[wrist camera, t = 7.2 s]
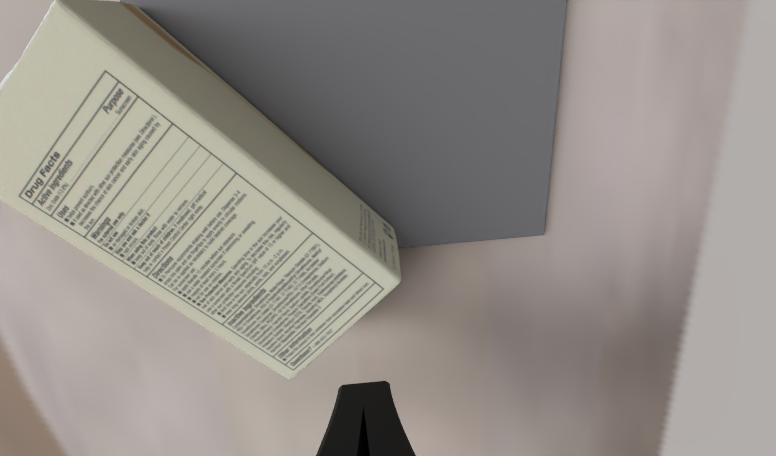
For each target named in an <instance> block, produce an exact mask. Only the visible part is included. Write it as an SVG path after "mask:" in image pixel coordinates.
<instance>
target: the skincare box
mask: <svg viewBox="0 0 776 456" xmlns="http://www.w3.org/2000/svg"><path fill="white" fill-rule="evenodd" d="M0 200H1V201H3V202H4V203H6V204H7V205H9V206H11V207H12V208H14V209H16V210H18V211H19V212H21V213H22V214H24V215H25V216H27V217H29V218H30V219H32V220H33V221H35V222H37V223H38V224H40V225H41V226H43V227H44V228H46V229H48V230H49V231H51V232H52V233H54V234H56V235H57V236H59V237H60V238H62V239H64V240H65V241H67V242H69V243H70V244H72V245H73V246H75V247H76V248H78V249H80V250H81V251H83V252H84V253H86V254H88V255H89V256H91V257H92V258H94V259H96V260H97V261H99V262H100V263H102V264H104V265H105V266H107V267H109V268H110V269H112V270H113V271H115V272H117V273H118V274H120V275H121V276H123V277H125V278H126V279H128V280H129V281H131V282H133V283H134V284H136V285H137V286H139V287H140V288H142V289H144V290H145V291H147V292H148V293H150V294H152V295H153V296H155V297H157V298H158V299H160V300H161V301H163V302H165V303H166V304H168V305H169V306H171V307H173V308H174V309H176V310H177V311H179V312H181V313H182V314H184V315H185V316H187V317H189V318H190V319H192V320H193V321H195V322H197V323H198V324H200V325H201V326H203V327H205V328H206V329H208V330H209V331H211V332H212V333H214V334H216V335H217V336H219V337H220V338H222V339H224V340H225V341H227V342H229V343H230V344H232V345H233V346H235V347H237V348H238V349H240V350H241V351H243V352H245V353H246V354H248V355H250V356H251V357H253V358H254V359H256V360H257V361H259V362H261V363H262V364H264V365H266V366H267V367H269V368H270V369H272V370H273V371H275V372H277V373H278V374H280V375H281V376H283V377H285V378H286V379H289V380H290V379H292V378H293V377H295V376H296V375H297V374H298V373H299V372H300V371H301V370H303V369H304V368H305V367H306V366H307V365H309V364H310V363H311V362H312V361H313V360H314V359H315V358H316V357H318V356H319V355H320V354H321V353H322V352H323V351H325V350H326V349H327V348H328V347H329V346H330V345H331V344H332V343H333V342H335V341H336V340H337V339H338V338H339V337H340V336H341V335H342V334H344V333H345V332H346V331H347V330H348V329H349V328H350V327H352V326H353V325H354V324H355V323H356V322H357V321H358V320H360V319H361V318H362V317H363V316H364V315H365V314H366V313H367V312H369V311H370V310H371V309H372V308H373V307H374V306H375V305H376V304H378V303H379V302H380V301H381V300H382V299H383V298H384V297H385V296H386V295H387V294H388V293H389V292H391V291H392V290H393V289H394V288H395V287H396V286H397V285H398V284H399V283H400V282H401V280H402V279H401V269H400V261H399V252H398V246H397V240H396V235H395V231H394V228H393V227H392V226H391V225H390V224H389V223H388V222H386V221H385V220H384V219H383V218H382V217H380V216H379V215H378V214H377V213H376V212H375V211H374V210H372V209H371V208H370V207H369V206H368V205H367V204H366V203H364V202H363V201H362V200H361V199H360V198H359V197H358V196H356V195H355V194H354V193H353V192H352V191H351V190H350V189H348V188H347V187H346V186H345V185H344V184H343V183H341V182H340V181H339V180H338V179H337V178H336V177H334V176H333V175H332V174H331V173H330V172H329V171H327V170H326V169H325V168H324V167H323V166H322V165H320V164H319V163H318V162H317V161H316V160H315V159H314V158H312V157H311V156H310V155H309V154H308V153H307V152H305V151H304V150H303V149H302V148H301V147H300V146H299V145H297V144H296V143H295V142H294V141H293V140H292V139H290V138H289V137H288V136H287V135H286V134H285V133H284V132H282V131H281V130H280V129H279V128H278V127H277V126H276V125H275V124H273V123H272V122H271V121H270V120H269V119H267V118H266V117H265V116H264V115H263V114H262V113H261V112H259V111H258V110H257V109H256V108H255V107H254V106H253V105H251V104H250V103H249V102H248V101H247V100H246V99H245V98H243V97H242V96H241V95H240V94H239V93H238V92H236V91H235V90H234V89H233V88H232V87H231V86H229V85H228V84H227V83H226V82H225V81H224V80H222V79H221V78H220V77H219V76H218V75H217V74H216V73H214V72H213V71H212V70H211V69H210V68H209V67H207V66H206V65H205V64H204V63H203V62H202V61H200V60H199V59H198V58H197V57H196V56H194V55H193V54H192V53H191V52H190V51H189V50H188V49H186V48H185V47H184V46H183V45H182V44H181V43H179V42H178V41H177V40H176V39H175V38H174V37H172V36H171V35H170V34H169V33H168V32H167V31H165V30H164V29H163V28H162V27H161V26H160V25H158V24H157V23H156V22H155V21H154V20H152V19H151V18H150V17H149V16H148V15H147V14H145V13H144V12H143V11H142V10H141V9H140V8H139V7H137V6H136V5H134V4H128V3H124V2H115V1H99V0H55V1H54V2H53V3H52V4H51V6H50V8H49V10H48V12H47V14H46V15H45V17H44V19H43V21H42V22H41V24H40V26H39V28H38V29H37V31H36V33H35V34H34V36H33V37H32V39H31V41H30V42H29V44H28V46H27V47H26V49H25V51H24V52H23V54H22V56H21V58H20V59H19V61H18V62H17V64H16V65H15V66H14V67H13V68H12V69H11V70H10V71H9V72H8V74H7V75H6V77H5V78H4V79H3V81H2V82H1V84H0Z"/></svg>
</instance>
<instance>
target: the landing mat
mask: <svg viewBox="0 0 776 456" xmlns="http://www.w3.org/2000/svg"><path fill="white" fill-rule="evenodd" d="M120 2H124V3H128V4H134V5H136V6H137V7H139V8H140V9H141V10H142V11H143V12H144V13H145V14H147V15H148V16H149V17H150V18H151V19H152V20H154V21H155V22H156V23H157V24H158V25H160V26H161V27H162V28H163V29H164V30H165V31H167V32H168V33H169V34H170V35H171V36H172V37H174V38H175V39H176V40H177V41H178V42H179V43H181V44H182V45H183V46H184V47H185V48H186V49H188V50H189V51H190V52H191V53H192V54H193V55H194V56H196V57H197V58H198V59H199V60H200V61H202V62H203V63H204V64H205V65H206V66H207V67H209V68H210V69H211V70H212V71H213V72H214V73H216V74H217V75H218V76H219V77H220V78H221V79H222V80H224V81H225V82H226V83H227V84H228V85H229V86H231V87H232V88H233V89H234V90H235V91H236V92H238V93H239V94H240V95H241V96H242V97H243V98H245V99H246V100H247V101H248V102H249V103H250V104H251V105H253V106H254V107H255V108H256V109H257V110H258V111H259V112H261V113H262V114H263V115H264V116H265V117H266V118H267V119H269V120H270V121H271V122H272V123H273V124H275V125H276V126H277V127H278V128H279V129H280V130H281V131H282V132H284V133H285V134H286V135H287V136H288V137H289V138H290V139H292V140H293V141H294V142H295V143H296V144H297V145H299V146H300V147H301V148H302V149H303V150H304V151H305V152H307V153H308V154H309V155H310V156H311V157H312V158H314V159H315V160H316V161H317V162H318V163H319V164H320V165H322V166H323V167H324V168H325V169H326V170H327V171H329V172H330V173H331V174H332V175H333V176H334V177H336V178H337V179H338V180H339V181H340V182H341V183H343V184H344V185H345V186H346V187H347V188H348V189H350V190H351V191H352V192H353V193H354V194H355V195H356V196H358V197H359V198H360V199H361V200H362V201H363V202H364V203H366V204H367V205H368V206H369V207H370V208H371V209H372V210H374V211H375V212H376V213H377V214H378V215H379V216H380V217H382V218H383V219H384V220H385V221H386V222H388V223H389V224H390V225H391V226H392V227H393V228H394V231H395V235H396V240H397V246H398V248H404V247H415V246H427V245H438V244H449V243H460V242H471V241H483V240H494V239H505V238H516V237H527V236H538V235H544V229H545V219H546V208H547V198H548V188H549V178H550V167H551V157H552V147H553V136H554V126H555V116H556V106H557V95H558V85H559V75H560V64H561V54H562V44H563V33H564V23H565V13H566V3H567V0H120Z"/></svg>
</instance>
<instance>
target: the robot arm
mask: <svg viewBox="0 0 776 456" xmlns="http://www.w3.org/2000/svg"><path fill="white" fill-rule="evenodd" d="M316 456H416V455H415V453H414V451H413V449H412V447H411V445H410V443H409V440H408V438H407V436H406V434H405V432H404V429H403V427H402V424H401V422H400V419H399V417H398V414H397V411H396V408H395V405H394V402H393V398H392V394H391V390H390V384H389V383H388V382H386V381H379V382H369V383H359V384H349V385H342V386H341V387H340V388H339V390H338V395H337V399H336V403H335V406H334V409H333V413H332V416H331V419H330V421H329V424H328V427H327V430H326V432H325V435H324V437H323V440H322V442H321V445H320V447H319V450H318V452H317V455H316Z"/></svg>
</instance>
